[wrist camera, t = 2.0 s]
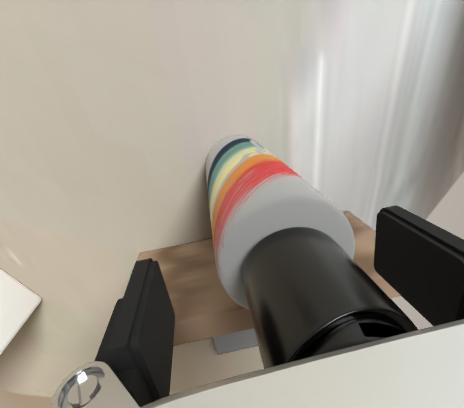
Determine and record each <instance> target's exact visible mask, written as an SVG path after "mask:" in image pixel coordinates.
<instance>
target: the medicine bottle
mask: <svg viewBox="0 0 464 408" xmlns="http://www.w3.org/2000/svg"><path fill="white" fill-rule="evenodd" d="M40 302H41V297H39V296H38V295H37V294H35V293H34V292H32V291H31V290H30V289H28V288H27V287H25V286H24V285H22V284H21V283H20V282H18V281H17V280H15V279H14V278H13V277H11V276H10V275H8V274H7V273H6V272H4V271H3V270H1V269H0V355H1V354H2V352H3V351H4V350H5V348H6V347H7V346H8V344H9V343H10V342H11V340H12V339H13V338H14V336H15V335H16V334H17V332H18V331H19V330H20V328H21V327H22V326H23V324H24V323H25V322H26V320H27V319H28V318H29V316H30V315H31V314H32V313H33V311H34V310H35V309H36V307H37V306H38V305H39V303H40Z"/></svg>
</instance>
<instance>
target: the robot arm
mask: <svg viewBox="0 0 464 408" xmlns="http://www.w3.org/2000/svg"><path fill="white" fill-rule="evenodd" d="M374 269H375V271H376V272H377V273H378V274H379V275H380V276H381V277H382V278H383V279H384V280H385V281H386V282H387V283H388V284H389V285H390V286H391V287H393V288H394V289H395V290H396V291H397V292H398V293H399V294H400V295H401V296H402V297H403V298H404V299H405V300H406V301H408V302H409V303H410V304H411V305H412V306H413V307H414V308H415V309H416V310H417V311H418V312H419V313H420V314H421V315H422V316H423V317H425V318H426V319H427V320H428V321H429V322H430V323H431V324H432V325H433V327H429V328H425V329H421V330H417V331H413V332H408V333H404V334H400V335H396V336H392V337H388V338H384V339H380V340H376V341H372V342H368V343H364V344H360V345H356V346H352V347H348V348H344V349H341V350H337V351H333V352H329V353H325V354H321V355H317V356H313V357H309V358H305V359H301V360H297V361H293V362H290V363H286V364H282V365H278V366H274V367H270V368H266V369H262V370H259V371H255V372H251V373H247V374H243V375H239V376H235V377H232V378H228V379H225V380H221V381H217V382H214V383H210V384H207V385H203V386H199V387H196V388H192V389H188V390H185V391H182V392H179V393H176V394H173V395H170V396H169V392H170V379H171V366H172V353H173V341H174V328H175V313H174V309H173V306H172V303H171V300H170V297H169V294H168V291H167V288H166V285H165V282H164V279H163V275H162V272H161V269H160V266H159V263H158V261H157V260H156V261H153V260H152V258H149V259H144V260H139V261H136V263H135V266H134V269H133V272H132V274H131V277H130V280H129V283H128V286H127V289H126V292H125V295H124V297H123V298H122V299H119V300H118V301H117V303H116V305H115V308H114V310H113V313H112V316H111V318H110V321H109V324H108V327H107V329H106V332H105V335H104V337H103V340H102V343H101V345H100V348H99V351H98V353H97V356H96V359H95V361H94V362H90V363H87V364H85V365H82V366H81V367H79V368H77V369H76V370H74V371H73V372H72V373H71V374H69V375H68V376H67V377H66V378H65V379H64V380H63V382H62V383H61V384H60V385H59V386H58V388H57V390H56V392H55V393H54V395H53V398H52V402H51V408H464V240H463V239H461V238H459V237H457V236H455V235H453V234H451V233H449V232H447V231H446V230H444V229H442V228H440V227H438V226H436V225H434V224H432V223H430V222H428V221H426V220H424V219H422V218H420V217H419V216H417V215H415V214H413V213H411V212H409V211H407V210H405V209H403V208H401V207H399V206H391V207H386V208H382V209H381V210H380V212H379V213H378V214H377V222H376V236H375V251H374Z"/></svg>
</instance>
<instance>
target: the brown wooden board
mask: <svg viewBox="0 0 464 408" xmlns="http://www.w3.org/2000/svg"><path fill="white" fill-rule="evenodd" d="M343 214H344V215H345V217H346V218H347V219H348V221H349V223H350V225H351V227H352V230H353V233H354V239H355V251H354V257H353V260H354V261H355V262H356V263H357V264H358V265H359V266H360V267H361V268H362V269H363V270H364V271H365V272H366V274H367V275H368V276H369V277H370V278H371V279H372V280H373V281H374V282H375V283H376V284H377V285H378V286H379V287H380V288H381V289H382V290H383V291H384V292H385V293H386V294H387V296H388V297H389V298H393V297H397V296H401V295H400V294H399V293H398V292H397V291H396V290H395V289H394V288H393V287H391V286H390V285H389V284H388V283H387V282H386V281H385V280H384V279H383V278H382V277H381V276H380V275H379V274H378V273H377V272H376V271H375V269H374V251H375V236H376V232H375V231H374V230H373V229H371V228H370V227H369V226H367V225H366V224H365V223H363V222H362V221H361V220H360V219H358V218H357V217H356V216H354V215H353V214H352V213H350V212H349V211H345V212H343ZM149 258H152V260H153V261H156V260H157V261H158V263H159V266H160V269H161V272H162V275H163V279H164V282H165V285H166V288H167V291H168V294H169V297H170V300H171V303H172V306H173V309H174V313H175V328H174V341H173V346H176V345H180V344H185V343H189V342H194V341H198V340H203V339H207V338H212V337H216V336H221V335H225V334H230V333H234V332H239V331H244V330H248V329H253V328H254V326H253V322H252V318H251V314H250V310H248V309H246V308H244V307H242V306H240V305H239V304H237V303H236V302H235V301H234V300H233V299H231V297H230V296H229V295H228V294H227V293H226V291H225V290H224V288H223V286H222V284H221V282H220V279H219V277H218V273H217V268H216V262H215V255H214V246H213V238H212V239H207V240H202V241H197V242H192V243H187V244H182V245H177V246H172V247H167V248H162V249H157V250H152V251H147V252H142V253H140V254H139V257H138V260H137V261H139V260H144V259H149Z"/></svg>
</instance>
